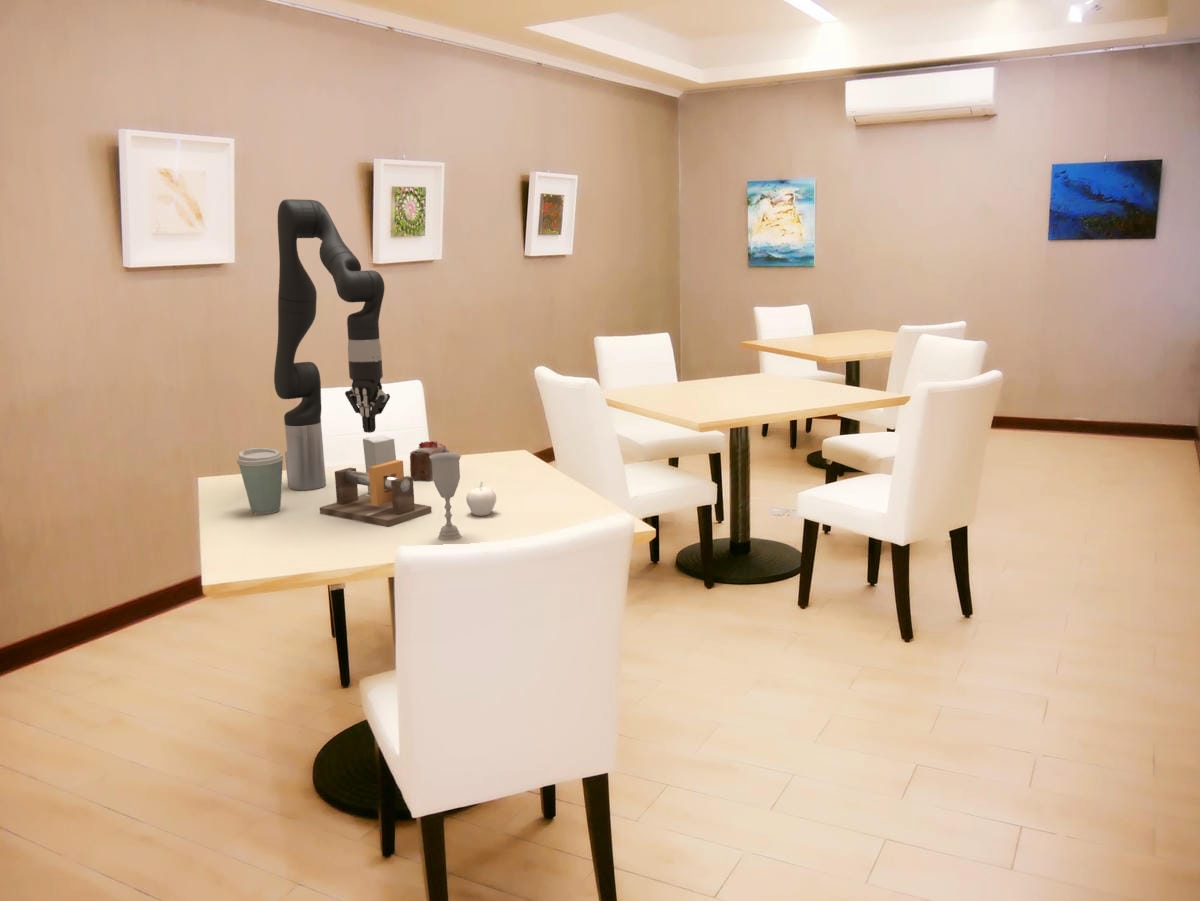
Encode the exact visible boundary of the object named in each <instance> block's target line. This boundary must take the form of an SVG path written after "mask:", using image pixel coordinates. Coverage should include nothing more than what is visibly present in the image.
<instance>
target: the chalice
mask: <svg viewBox="0 0 1200 901" xmlns="http://www.w3.org/2000/svg"><path fill="white" fill-rule="evenodd" d="M461 457H462V454H460V453H458V452H449V453H437V454H433V455H430V456H429V458H430V460H431V461H432V474H433V479H432V480H433V483H434V486H435V488H436V490H437V492H438V494H439V495H440V496H439V497H441V498H442V499H444V501H445V505H444V509H445V511H446V512H445V514H444V517H445V519H446V523H445V524H444V525H443V526H442V527H441V528H440V531H439V534H438V536H437V539H439V540H440V539H441V541H453V540H455V541H456V540H458V539H460V538H462V535H461V533H460V531H459V528H458V527H457V526H456V525H454V524H453V523H452V520H451V519H452V516H453V514H452V513H451V508H453V507H452V505H451V502H450V501H451V498H454V497H455V494H456V491H457V488H458V487H459V486H458V485H459V483H460V479H461V470H460V459H461ZM457 538H458V539H457Z"/></svg>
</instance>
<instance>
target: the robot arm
mask: <svg viewBox="0 0 1200 901" xmlns="http://www.w3.org/2000/svg"><path fill="white" fill-rule="evenodd" d="M277 237H278V253H279V255H278V256H279V270H278V271H279V277H278V278H279V279H278V280H279V281H278V294H277V298H278V299H277V304H278V306H277V312H278V313H277V315H278V316H277V319H278V320H277V330H278V331H277V345H276V355H275V362H274V363H275V364H274V372H273V373H274V375H273V383H274V389H275V393H276V395H277V396H278V397H279V398H280V399H282V400H292V399H293V400H294V399H301V402H299V403H298V405H297V406H295V407H294V408H292V409H290V410H289V411H287V412H286V413H284V416H283V418H284V419H283V420H284V431H285V441H286V450H285V453H284V456H285V467H286V468H285V469H286V478H287V480H286V482H287V487H289V488H290V489H292V490H294V491H310V490H318V489H321V488H324V487H325V486H326V485H327V482H326V481H327V480H326V468H325V466H326V464H325V456H324V445H323V444H324V442H323V440H324V439H323V431H322V430H323V429H322V418H321V417H322V386H321V385H322V382H321V374H320V371H319V368H318V366H317V365H316V364H315V363H314V362H311V361H301V362H295V358H296V354H297V350H298V348H299V345H300V344H301V342H302V341H303V339H304V337H305V336H306V334H307V333H308V332H309V330H310V328H311V327H312V325H313V324H314V322H315V318H316V315H317V299H318V298H317V289H316V286H315V284H314V282H313V281H312V278H311V276H310V275H309V273H308V272H307V270H306V269H305V267H304V264H302V262H301V259H300V256H299V251H298V240H297V239H314V238H315V239H316V238H317V239H319V240H321V244H320V247H319V258H320V261H321V264H322V265H323V266H324V268H325V269H326V270H327V271H328V273H329V274H330V275H331V276H332V278H333V281H334V285H335V290H336V292H337V294H338V297H339V298H340V300H343V301H344V302H347V303H364V304H363V307H362V308H361V310H358V311H357V312H354V313H350V314H348V316H347V317H346V318H347V321H346V324H347V359H348V374H349V379H350V380H352V383H351V387H350V389H349V390H346V391H345V392H344V395H345V397H346V399H347V400H348V402H349V403H350V404H349V405H351V407H352V409H353V411H354V413H355V414H359V415H360V416H361V419H362V420H361V421H362V422H361V423H362V429H363V432H364V433H368V434H369V433H370V434H371V433H374V432H375V431H376V428H377V427H376V426H377V425H376V416H377V415H381V414H382V413H383V411H384V409H385V408H386V405H388V402H389V400H390V398H391V396H390V394H389V393H385V392H384V390H383V386H382V383H381V379H382V378H383V377H384V376H383V375H384V374H383V360H382V359H383V358H382V345H381V341H380V326H379V325H380V324H379V319H380V314H381V308H382V303H383V299H384V295H385V282H384V278H383V277H382V275H381V273H379V272H378V271H376V270H362V265H361V263H360V261H359V259H358V257H357V256H356V255H355V254H354V253H353V252H352V250H350V248H349V247H348V246H347V245H346V243H345V242H344V241H343V239H342V237H341V236H340V233H339V231H338V229H337V227H336V225H335V223H334V221H333V219H332V218H331V215H330V213H329V212H328V210H327V208H326V207H325V206H324V205H323V204H322V202H320V201H318V200H314V199H293V198H289V199H288V198H287V199H282V200H281V202H280V203H279V206H278V209H277Z"/></svg>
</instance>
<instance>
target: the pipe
mask: <svg viewBox="0 0 1200 901" xmlns="http://www.w3.org/2000/svg"><path fill="white" fill-rule="evenodd" d="M383 477H384V489H390V490H392V488H391V480H394V479H398V478H396V477H390V476H383ZM344 480H345V481H346V482H347V483H353V484H357V485H360V486H365V487H366V486H367V487H368V486H370V480H369V473H366V472H364V471H363V472H362V471H357V470H356V471H351V470H348V471H346V472H345V474H344ZM406 480H408V479H404V480H403V481H402V483H401V490H403V492H407V491H408V490H409V488H410V482H409V480H408V481H406ZM404 481H405V482H404ZM402 484H403V485H402ZM404 485H405V486H404ZM402 487H403V488H402ZM405 490H406V491H405Z"/></svg>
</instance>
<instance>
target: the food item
mask: <svg viewBox="0 0 1200 901" xmlns="http://www.w3.org/2000/svg"><path fill="white" fill-rule="evenodd" d="M446 447H447V446H446V445H444V444H443V443H439V442H438V441H421V442H420V443H419V444H418V448H416V449H415V450H412V451H411V452H410V453H409V454H410V455H409V460H410V461H409V464H410V465H409V466H410V469H409V471H410V477H413V481H416V482H417V481H420V482H421V481H422V482H430V481H431V480H433V474H432V461H431V460H430V458H429V456H430V455H433V454H437V453H450V450H449V449H447V448H446Z"/></svg>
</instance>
